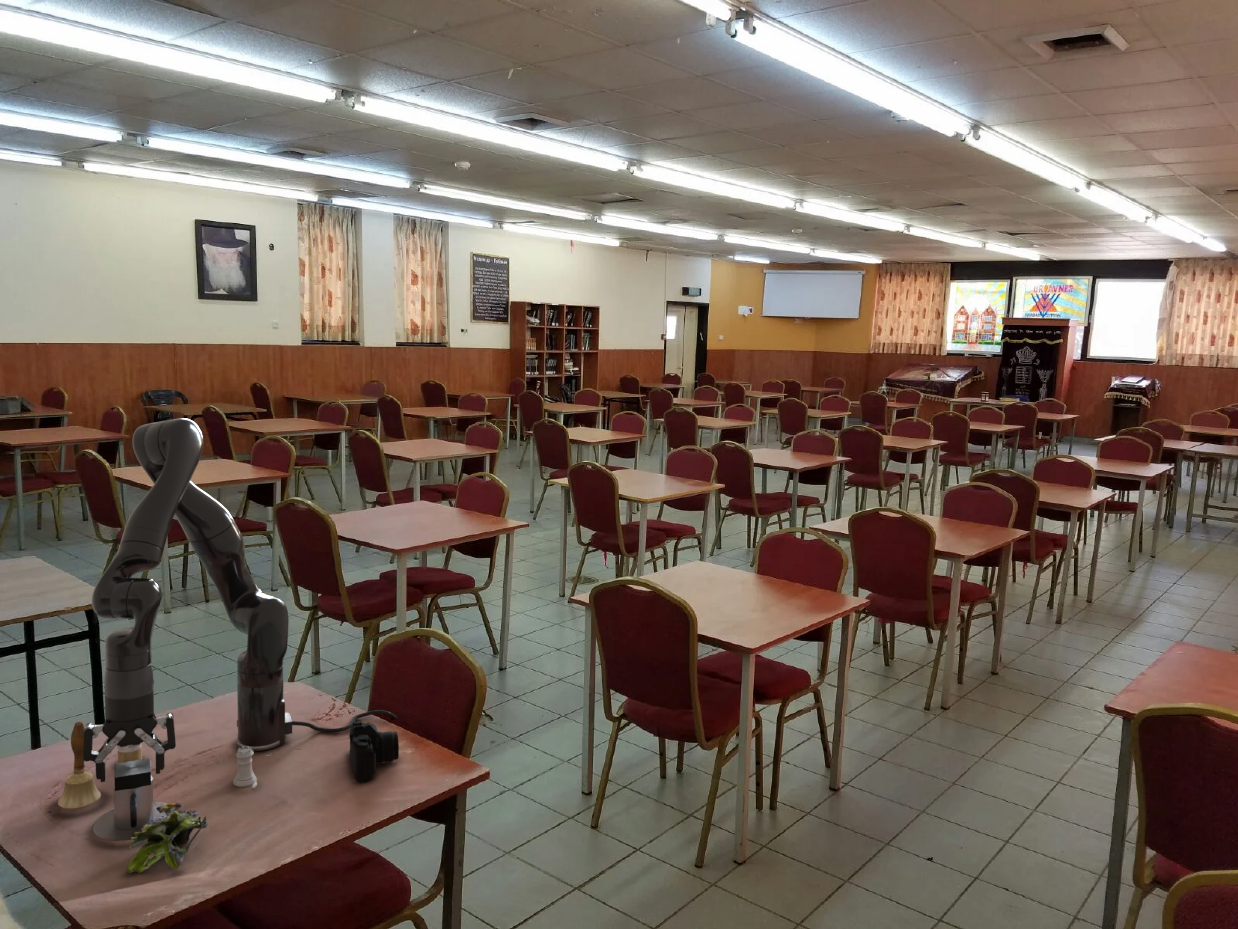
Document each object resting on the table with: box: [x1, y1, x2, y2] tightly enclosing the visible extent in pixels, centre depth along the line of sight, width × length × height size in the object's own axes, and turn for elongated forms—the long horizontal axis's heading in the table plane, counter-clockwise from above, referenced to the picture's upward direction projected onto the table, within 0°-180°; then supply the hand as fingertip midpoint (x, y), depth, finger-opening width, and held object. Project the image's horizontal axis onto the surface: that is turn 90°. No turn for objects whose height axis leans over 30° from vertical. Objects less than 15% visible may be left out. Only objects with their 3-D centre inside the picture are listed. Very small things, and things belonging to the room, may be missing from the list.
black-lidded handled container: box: [112, 757, 155, 830], centre depth 156 cm, size 9×6×10 cm
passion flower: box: [126, 802, 208, 874], centre depth 148 cm, size 11×11×12 cm
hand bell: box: [57, 721, 102, 809], centre depth 163 cm, size 8×8×16 cm
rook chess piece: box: [232, 746, 258, 790], centre depth 173 cm, size 4×4×8 cm
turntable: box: [91, 801, 174, 842], centre depth 158 cm, size 13×13×1 cm
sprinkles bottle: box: [116, 743, 143, 763], centre depth 179 cm, size 5×5×13 cm
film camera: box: [348, 718, 400, 783], centre depth 185 cm, size 15×10×9 cm, turn 22°
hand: (131, 776), depth 157 cm, fingers open, 8 cm apart
